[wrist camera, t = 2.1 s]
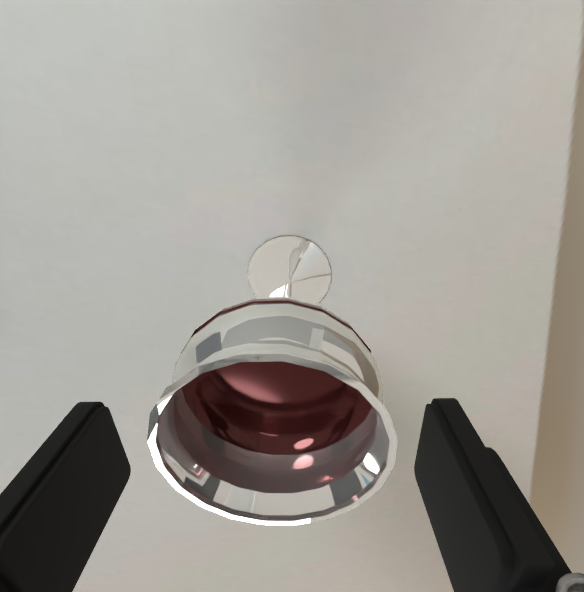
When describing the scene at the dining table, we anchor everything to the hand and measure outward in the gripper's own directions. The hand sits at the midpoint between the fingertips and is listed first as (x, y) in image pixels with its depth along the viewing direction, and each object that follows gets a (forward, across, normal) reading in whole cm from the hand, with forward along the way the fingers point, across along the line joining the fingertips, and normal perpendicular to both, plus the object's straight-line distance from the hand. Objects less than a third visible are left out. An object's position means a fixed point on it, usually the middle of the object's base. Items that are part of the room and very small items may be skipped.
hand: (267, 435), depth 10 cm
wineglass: (+11, 0, 0) cm, 11 cm away
